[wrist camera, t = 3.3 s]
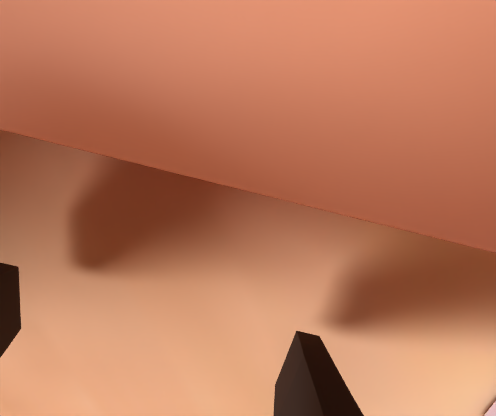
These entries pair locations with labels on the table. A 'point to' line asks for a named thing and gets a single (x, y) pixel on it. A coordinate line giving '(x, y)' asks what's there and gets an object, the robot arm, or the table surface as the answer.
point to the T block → (274, 98)
